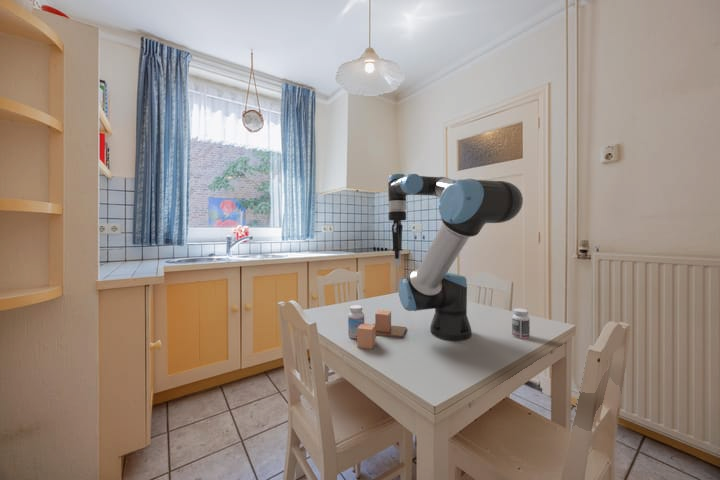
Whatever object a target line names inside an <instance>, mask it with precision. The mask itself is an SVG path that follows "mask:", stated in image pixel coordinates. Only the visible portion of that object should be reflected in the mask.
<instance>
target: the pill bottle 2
mask: <svg viewBox="0 0 720 480" xmlns="http://www.w3.org/2000/svg"><path fill="white" fill-rule="evenodd" d="M528 315H529V311H528V310H527V309H524V308H520V307H517V308H513V315H512V317H511V335H512V337H514V338H516V339H524V340H526V339H529V338H530V333H531V331H530V326H531V325H530V323H531V322H530V321H531V319H530V317H529V316H528Z"/></svg>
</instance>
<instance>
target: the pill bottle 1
mask: <svg viewBox="0 0 720 480" xmlns="http://www.w3.org/2000/svg"><path fill="white" fill-rule="evenodd" d="M349 310H350V311H349V312H348V314H347V315H348V316H347V317H348V318H347V321H348V322H347V326H348V329H347V331H348V337H349V338H350V339H356V340H357V328H358V327H359V326H360V324H361V323H363V324H365V313H364V312H363V306H362V305H359V304H356V305H351V306H349Z"/></svg>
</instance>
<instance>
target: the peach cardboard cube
mask: <svg viewBox="0 0 720 480" xmlns="http://www.w3.org/2000/svg"><path fill="white" fill-rule="evenodd" d="M373 324H374V323H371V324H370V323H364V324H363V323H361V324H360V326H359V327H358V328H357V339H356V343H357V344H356V346H357V348H360V349H361V348H362V349H369V350H372V349H373V348H374V346H375V345H376V343H377V341H376V338H377V337H376V336H377V335H376V325H373Z"/></svg>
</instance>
